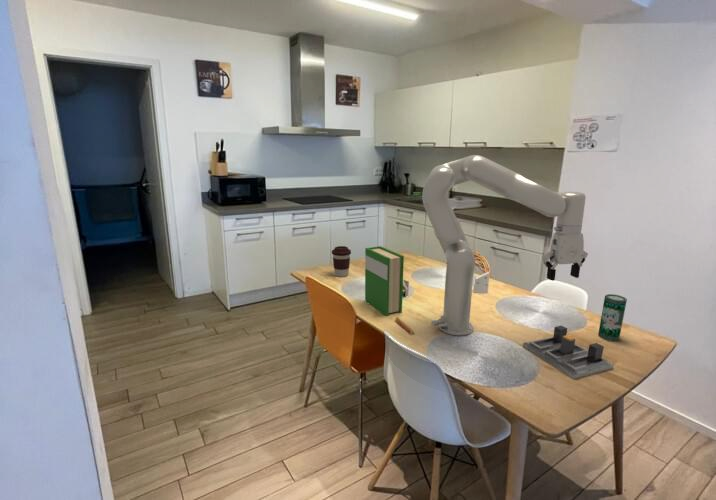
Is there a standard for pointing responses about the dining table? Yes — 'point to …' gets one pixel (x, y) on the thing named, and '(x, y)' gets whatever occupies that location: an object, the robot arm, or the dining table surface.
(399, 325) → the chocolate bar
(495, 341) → the dining table surface
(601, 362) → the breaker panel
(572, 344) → the block
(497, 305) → the dining table surface
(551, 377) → the dining table surface
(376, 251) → the hardback book
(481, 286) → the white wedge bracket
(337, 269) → the coffee cup
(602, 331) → the can
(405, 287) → the architectural model
